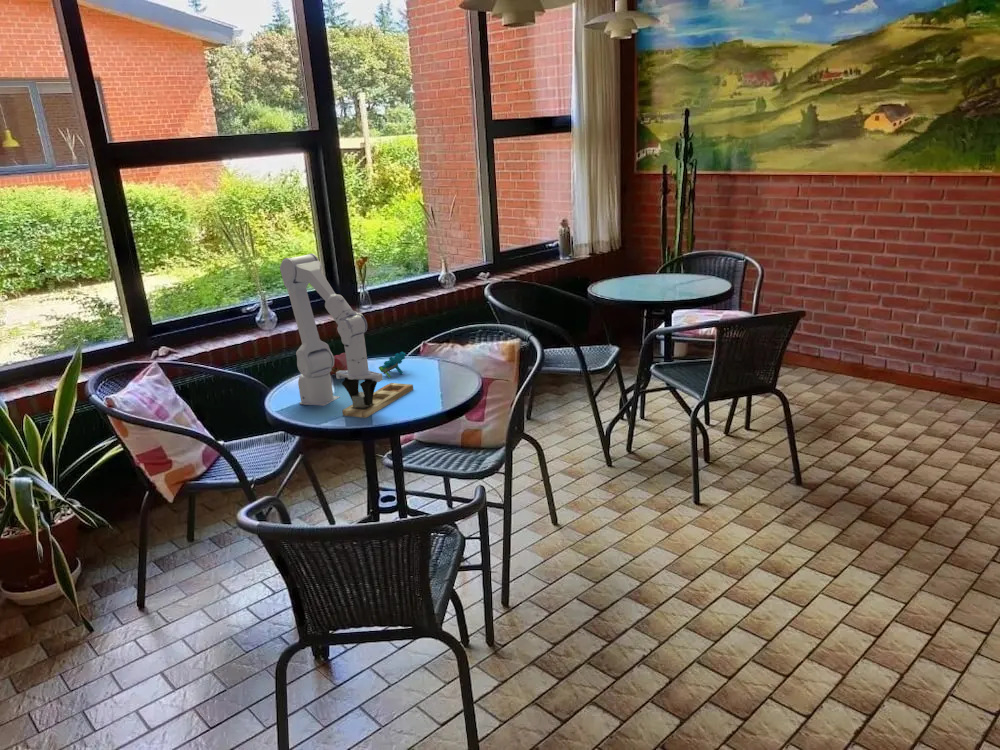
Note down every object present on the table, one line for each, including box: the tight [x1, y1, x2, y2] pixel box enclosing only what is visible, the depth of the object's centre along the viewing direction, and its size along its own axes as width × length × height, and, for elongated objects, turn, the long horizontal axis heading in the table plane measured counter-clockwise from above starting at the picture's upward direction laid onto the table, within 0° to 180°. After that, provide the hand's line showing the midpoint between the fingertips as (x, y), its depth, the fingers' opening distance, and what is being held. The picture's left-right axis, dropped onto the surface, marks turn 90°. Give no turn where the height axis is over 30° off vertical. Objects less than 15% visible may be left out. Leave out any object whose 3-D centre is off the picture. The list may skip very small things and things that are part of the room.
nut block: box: [351, 391, 373, 410], centre depth 211 cm, size 4×4×5 cm
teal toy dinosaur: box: [378, 351, 407, 378], centre depth 246 cm, size 11×6×10 cm
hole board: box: [341, 382, 414, 418], centre depth 219 cm, size 8×25×2 cm, turn 155°
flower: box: [330, 352, 348, 383], centre depth 247 cm, size 11×10×10 cm
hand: (362, 403), depth 211 cm, fingers closed on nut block, 4 cm apart
